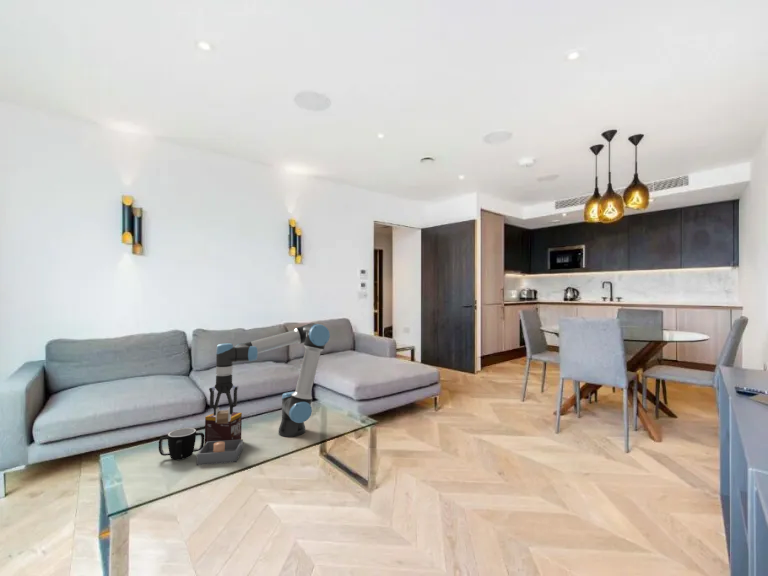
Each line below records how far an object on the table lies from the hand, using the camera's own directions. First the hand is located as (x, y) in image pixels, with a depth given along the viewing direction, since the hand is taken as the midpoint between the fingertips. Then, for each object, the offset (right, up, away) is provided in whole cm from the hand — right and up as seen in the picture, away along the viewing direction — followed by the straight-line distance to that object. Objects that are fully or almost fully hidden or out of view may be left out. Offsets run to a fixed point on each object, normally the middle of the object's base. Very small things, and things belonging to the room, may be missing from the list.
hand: (223, 421), depth 181 cm
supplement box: (-5, -17, +12) cm, 21 cm away
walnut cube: (0, 0, 0) cm, 0 cm away
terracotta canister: (+1, -15, -7) cm, 17 cm away
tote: (+1, -16, -4) cm, 17 cm away
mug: (-19, -16, -4) cm, 25 cm away
